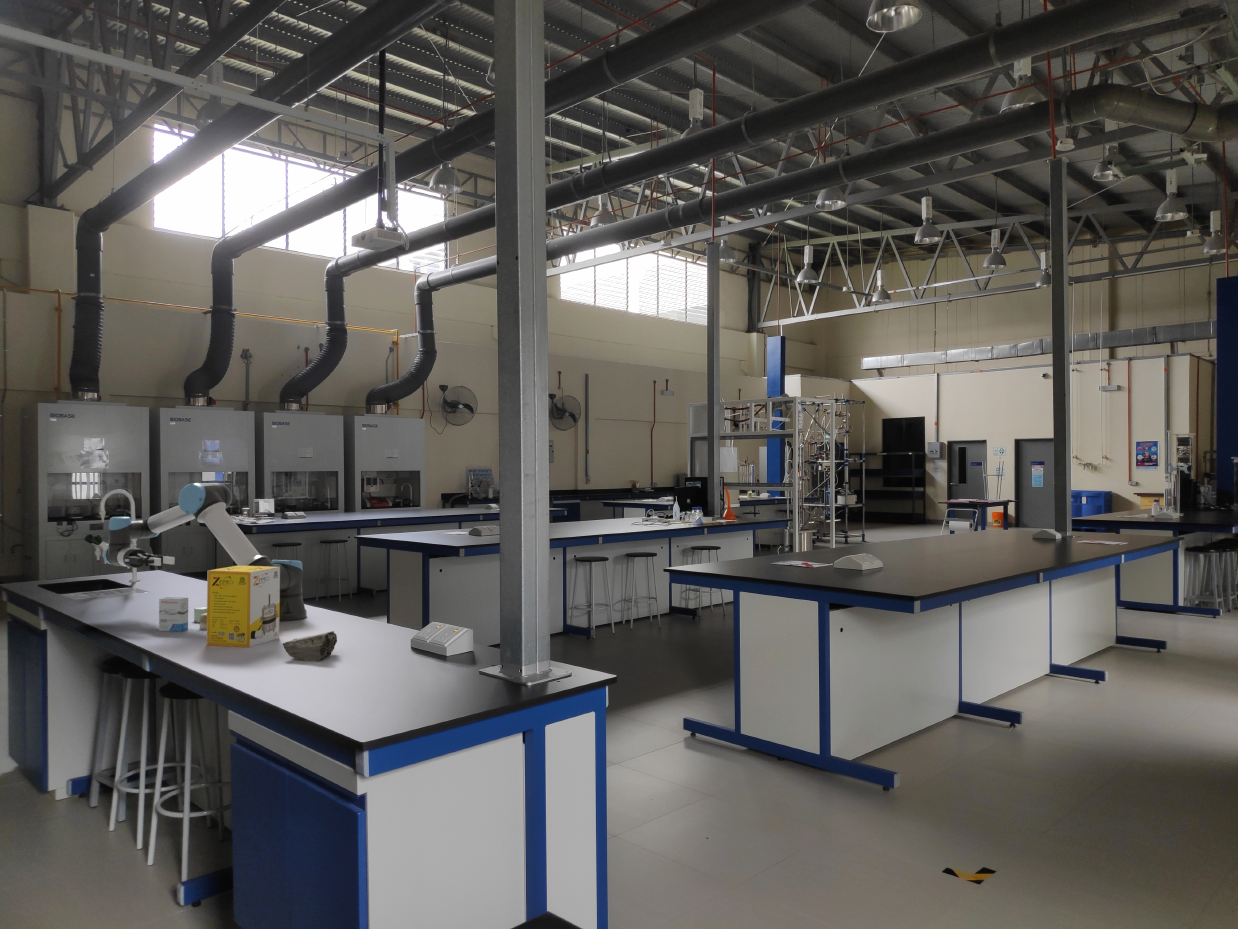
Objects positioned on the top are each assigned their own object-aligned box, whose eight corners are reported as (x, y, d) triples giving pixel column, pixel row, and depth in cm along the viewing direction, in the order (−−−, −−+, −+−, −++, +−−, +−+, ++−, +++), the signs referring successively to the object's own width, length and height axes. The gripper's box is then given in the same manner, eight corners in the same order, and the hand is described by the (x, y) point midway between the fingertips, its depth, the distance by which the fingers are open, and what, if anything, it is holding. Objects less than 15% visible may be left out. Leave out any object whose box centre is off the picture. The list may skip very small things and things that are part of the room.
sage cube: (213, 620, 316) (213, 607, 316) (201, 622, 312) (201, 609, 312) (206, 619, 319) (206, 606, 319) (194, 621, 315) (194, 608, 315)
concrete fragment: (276, 653, 249) (295, 619, 261) (293, 676, 254) (311, 641, 266) (316, 645, 245) (334, 610, 258) (333, 668, 251) (350, 633, 263)
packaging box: (238, 635, 287) (239, 565, 288) (279, 638, 284) (280, 566, 284) (206, 645, 271) (207, 570, 272) (249, 647, 268) (250, 572, 268)
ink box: (188, 629, 298) (189, 597, 299) (180, 631, 294) (180, 599, 294) (167, 628, 299) (167, 596, 299) (158, 631, 294) (158, 598, 295)
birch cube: (220, 626, 305) (220, 613, 305) (212, 628, 300) (213, 615, 300) (207, 626, 305) (207, 612, 305) (199, 628, 300) (200, 615, 300)
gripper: (155, 565, 325) (189, 569, 313) (109, 569, 310) (143, 573, 298) (155, 546, 325) (189, 549, 313) (109, 549, 310) (143, 553, 298)
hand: (166, 561), depth 306 cm, fingers open, 4 cm apart
